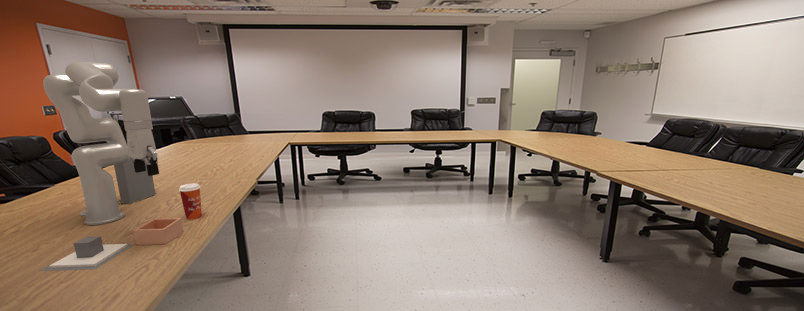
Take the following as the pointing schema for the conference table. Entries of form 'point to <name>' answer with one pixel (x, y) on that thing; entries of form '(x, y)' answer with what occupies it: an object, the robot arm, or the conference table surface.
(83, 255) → the cover
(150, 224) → the open box
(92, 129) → the robot arm
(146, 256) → the conference table surface
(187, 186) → the paper cup
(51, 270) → the mat
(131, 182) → the tall grey upright block
